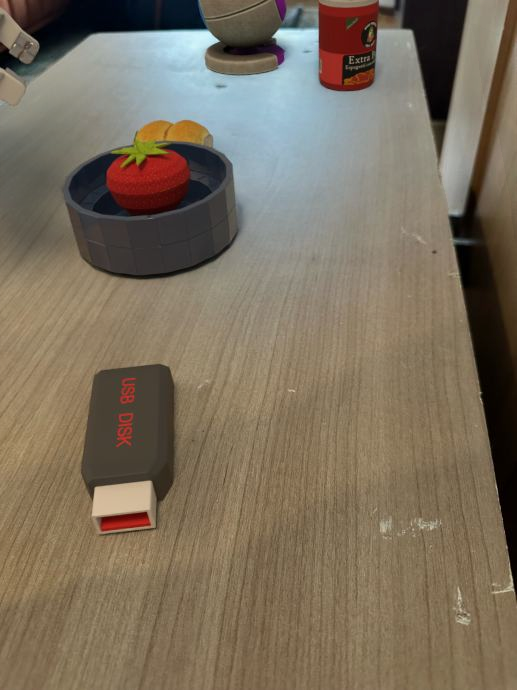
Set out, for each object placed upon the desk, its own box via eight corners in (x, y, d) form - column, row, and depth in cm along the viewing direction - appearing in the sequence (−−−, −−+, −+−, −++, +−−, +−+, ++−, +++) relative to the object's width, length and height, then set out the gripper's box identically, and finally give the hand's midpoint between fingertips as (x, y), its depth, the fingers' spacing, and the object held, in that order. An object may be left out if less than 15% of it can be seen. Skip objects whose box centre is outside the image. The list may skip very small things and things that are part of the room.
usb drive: (173, 382, 46) (167, 354, 44) (173, 528, 37) (165, 499, 35) (100, 391, 46) (91, 362, 44) (82, 538, 37) (70, 510, 35)
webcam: (289, 72, 94) (285, -47, 84) (202, 77, 94) (188, -40, 85) (287, 45, 104) (283, -64, 94) (208, 50, 104) (196, -58, 94)
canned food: (348, 96, 85) (351, 5, 78) (306, 82, 90) (305, -5, 83) (386, 80, 89) (392, -9, 82) (344, 68, 94) (346, -17, 87)
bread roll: (150, 140, 78) (144, 107, 76) (220, 144, 76) (216, 110, 74) (122, 171, 72) (115, 136, 70) (198, 175, 70) (193, 140, 68)
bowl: (93, 298, 54) (76, 236, 50) (68, 216, 65) (52, 160, 61) (261, 254, 58) (257, 193, 54) (210, 183, 69) (203, 129, 65)
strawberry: (202, 238, 59) (188, 133, 53) (120, 252, 58) (96, 147, 52) (192, 208, 64) (178, 108, 57) (116, 221, 63) (93, 120, 56)
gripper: (-200, -75, 35) (37, 88, 42) (-102, -118, 50) (59, 7, 57) (-240, 23, 37) (-11, 161, 44) (-135, -46, 52) (23, 65, 60)
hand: (29, 74), depth 51 cm, fingers open, 8 cm apart
